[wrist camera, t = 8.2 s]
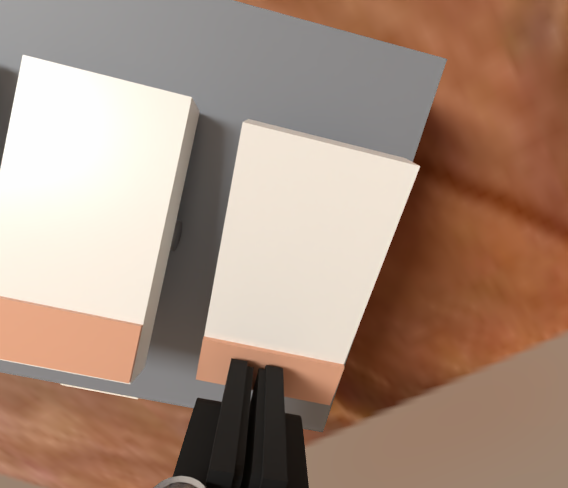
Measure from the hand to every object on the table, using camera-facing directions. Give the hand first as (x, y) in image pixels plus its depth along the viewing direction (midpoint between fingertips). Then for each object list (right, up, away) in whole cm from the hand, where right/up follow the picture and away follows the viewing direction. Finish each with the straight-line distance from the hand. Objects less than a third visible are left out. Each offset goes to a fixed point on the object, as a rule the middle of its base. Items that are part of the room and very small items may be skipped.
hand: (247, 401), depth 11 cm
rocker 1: (-4, +6, -1) cm, 7 cm away
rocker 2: (+1, +4, 0) cm, 5 cm away
